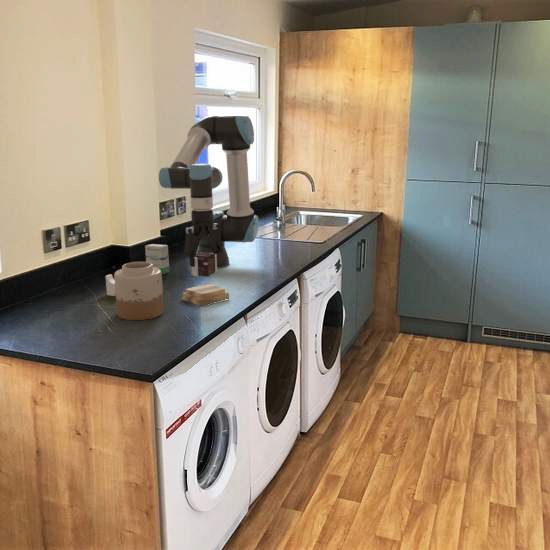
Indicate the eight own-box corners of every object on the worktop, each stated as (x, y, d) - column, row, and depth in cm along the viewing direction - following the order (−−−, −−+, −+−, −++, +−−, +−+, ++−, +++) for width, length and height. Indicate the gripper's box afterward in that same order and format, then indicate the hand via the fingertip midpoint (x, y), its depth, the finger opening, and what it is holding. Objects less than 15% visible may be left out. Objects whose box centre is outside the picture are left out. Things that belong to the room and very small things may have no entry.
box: (192, 275, 215) (191, 255, 213) (201, 271, 220) (200, 251, 218) (208, 277, 213) (207, 256, 211) (216, 272, 218) (215, 252, 216)
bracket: (122, 297, 223) (121, 277, 221) (107, 295, 226) (105, 276, 224) (143, 288, 235) (142, 269, 233) (128, 286, 237) (126, 268, 235)
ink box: (170, 272, 258) (168, 244, 255) (163, 274, 254) (161, 247, 251) (153, 270, 262) (151, 243, 259) (146, 272, 257) (144, 245, 254)
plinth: (182, 299, 219) (181, 288, 218) (208, 292, 227) (208, 282, 226) (202, 306, 211) (201, 295, 210) (229, 299, 219) (228, 288, 218)
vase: (124, 306, 212) (120, 259, 208) (167, 306, 211) (165, 259, 207) (111, 320, 197) (107, 270, 193) (158, 320, 197) (155, 270, 192)
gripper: (183, 213, 201) (187, 280, 207) (231, 207, 215) (233, 270, 220) (170, 211, 206) (174, 276, 212) (218, 205, 220) (220, 266, 226)
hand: (204, 273), depth 216 cm, fingers closed on box, 8 cm apart
